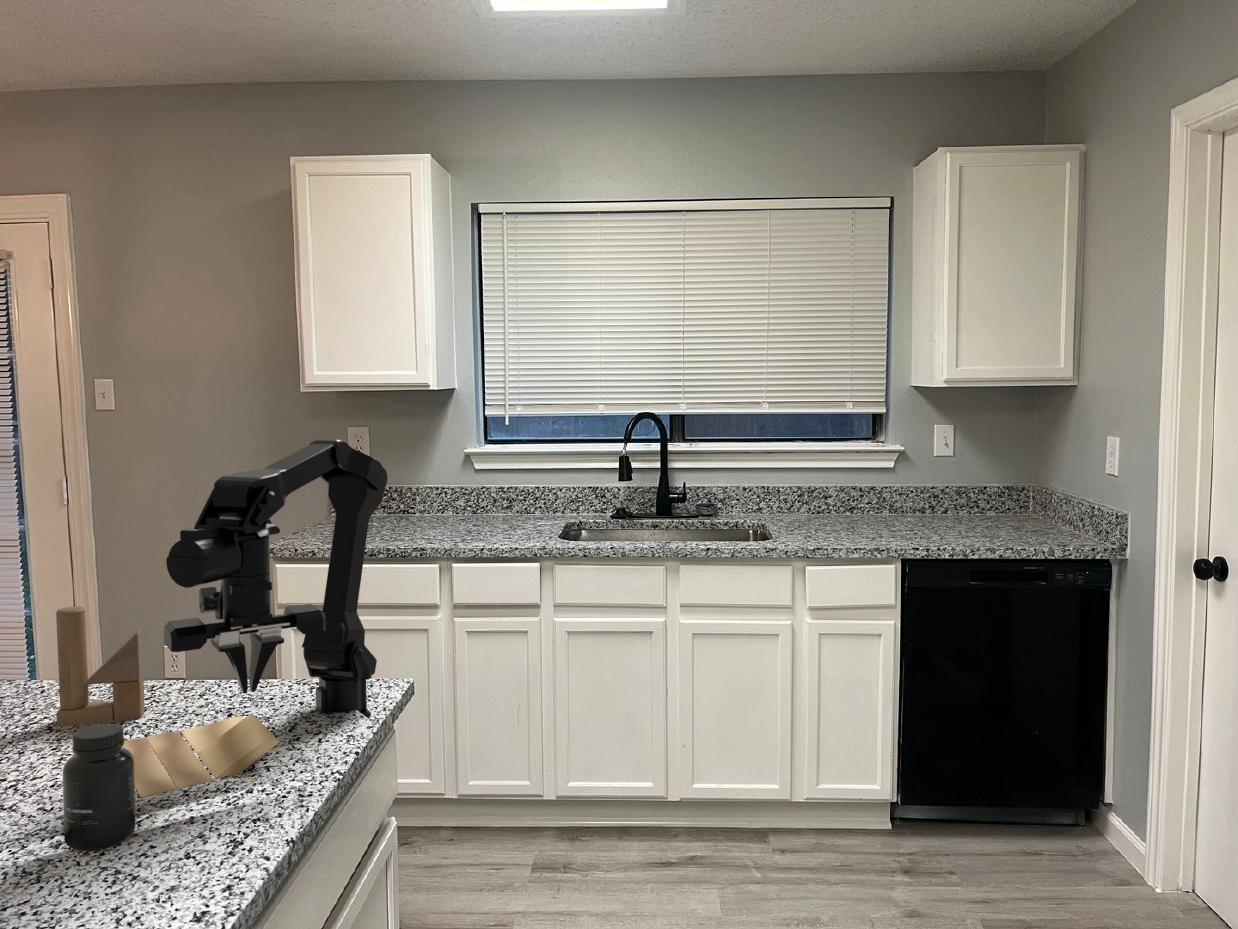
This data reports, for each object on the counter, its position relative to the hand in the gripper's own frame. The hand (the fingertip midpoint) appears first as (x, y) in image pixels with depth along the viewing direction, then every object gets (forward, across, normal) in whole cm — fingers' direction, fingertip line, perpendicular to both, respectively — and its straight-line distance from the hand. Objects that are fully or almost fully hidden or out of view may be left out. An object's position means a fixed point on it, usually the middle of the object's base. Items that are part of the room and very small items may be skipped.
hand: (248, 692), depth 116 cm
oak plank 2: (+8, +1, -1) cm, 8 cm away
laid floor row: (+10, +10, -5) cm, 15 cm away
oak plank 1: (+10, +1, -11) cm, 15 cm away
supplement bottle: (+11, +18, +10) cm, 23 cm away
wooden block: (+10, +14, -28) cm, 33 cm away
